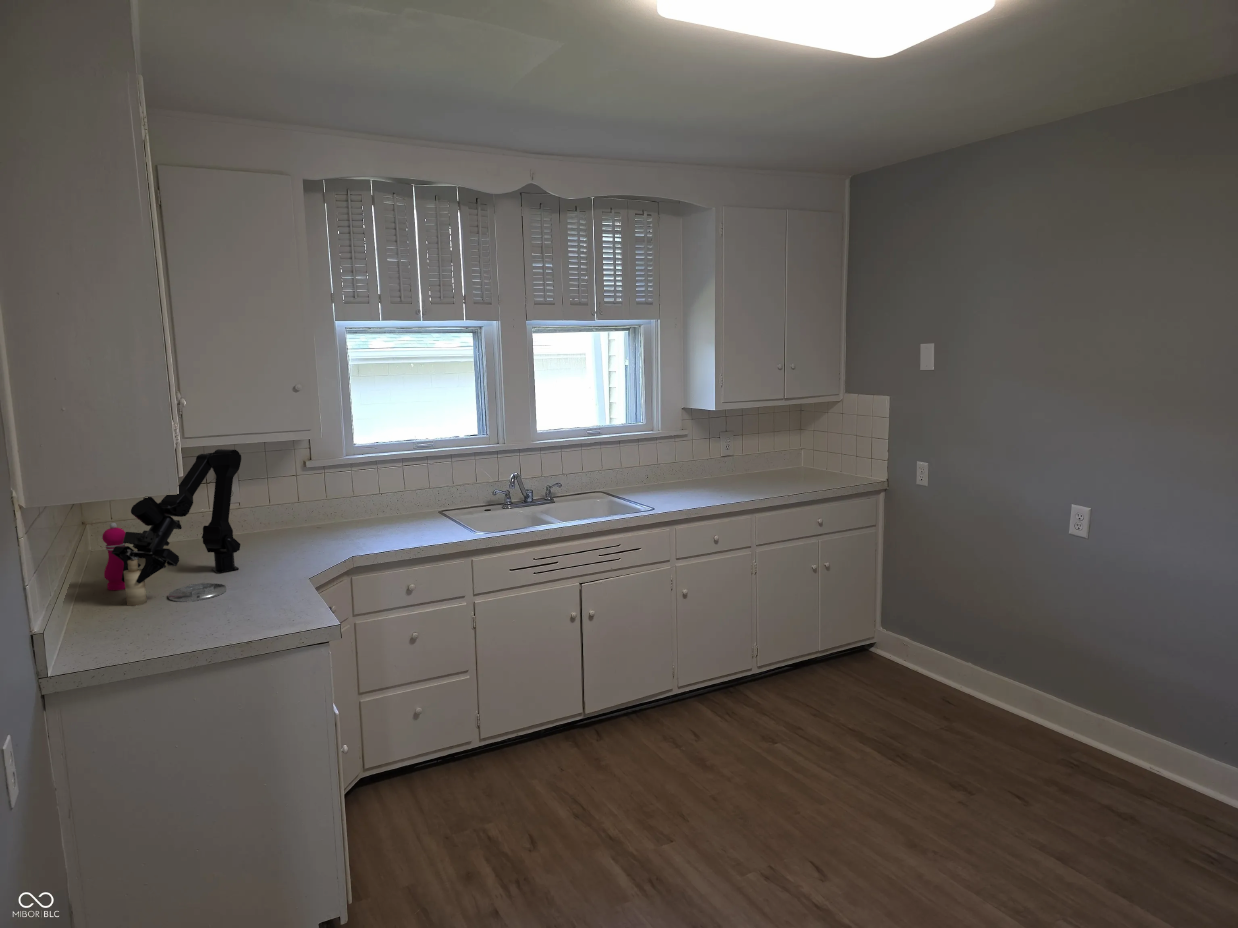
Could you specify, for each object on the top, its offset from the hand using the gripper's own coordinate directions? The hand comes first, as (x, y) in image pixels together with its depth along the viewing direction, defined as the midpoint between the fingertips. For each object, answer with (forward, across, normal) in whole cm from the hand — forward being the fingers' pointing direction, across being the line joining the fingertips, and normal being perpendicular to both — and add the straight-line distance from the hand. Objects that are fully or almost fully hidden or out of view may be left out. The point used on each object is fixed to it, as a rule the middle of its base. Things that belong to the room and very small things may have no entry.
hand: (130, 582), depth 220 cm
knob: (+4, 0, +6) cm, 7 cm away
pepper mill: (-4, -18, +14) cm, 23 cm away
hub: (-4, +10, +14) cm, 18 cm away
